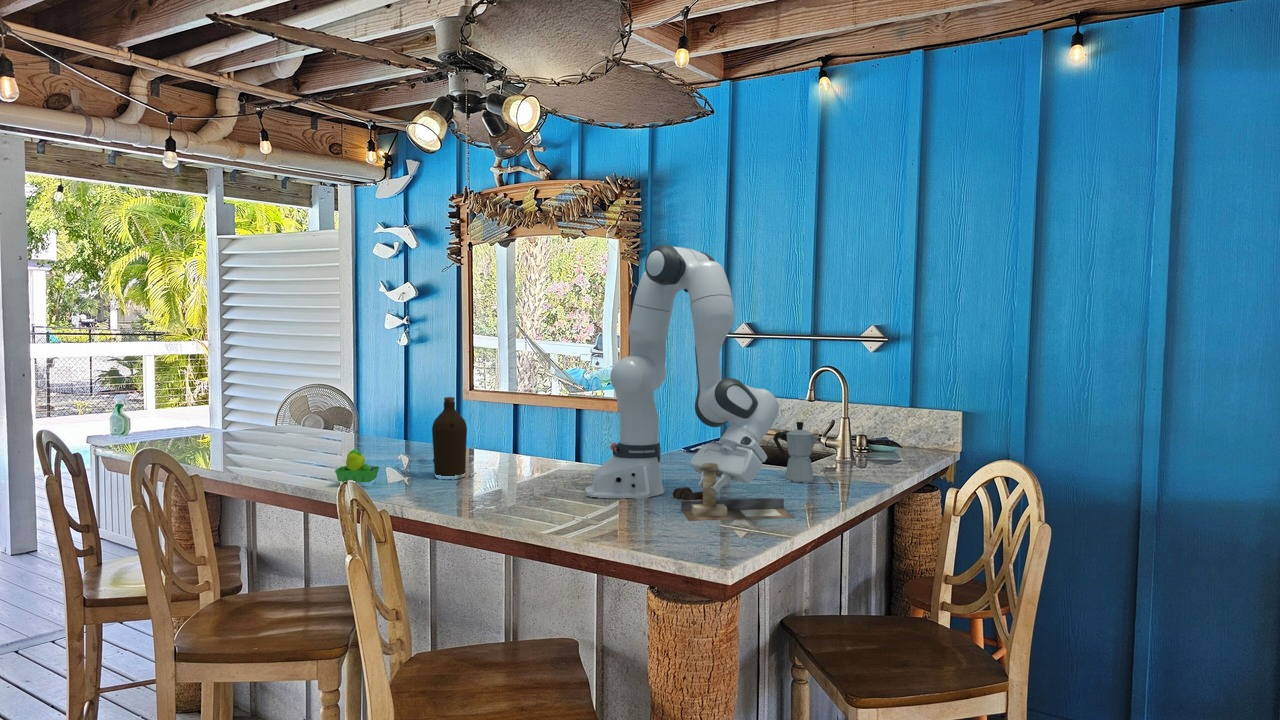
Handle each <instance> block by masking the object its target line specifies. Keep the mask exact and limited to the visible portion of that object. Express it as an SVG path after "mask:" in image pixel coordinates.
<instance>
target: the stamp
mask: <svg viewBox="0 0 1280 720" xmlns="http://www.w3.org/2000/svg"><path fill="white" fill-rule="evenodd" d="M701 470H703V488H702V492H703V504H698V505H692V514H693V515H694V516H727V507H726V506H725V505H724V504H716V499H717V492H715V491H713V490H712V489H711V485H712V484H713V482H717V476H716V470H718V464H714V463H704V464H701Z"/></svg>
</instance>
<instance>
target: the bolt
mask: <svg viewBox="0 0 1280 720" xmlns="http://www.w3.org/2000/svg"><path fill="white" fill-rule="evenodd" d="M672 497H673V498H675V499H677V500H703V491H694V492H693V490H692V489H691V487H688V486H687V487H686V486H685V487H684V486H683V487H678V488H677V487H676V488H675V489H673V492H672Z"/></svg>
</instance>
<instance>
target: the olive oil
mask: <svg viewBox="0 0 1280 720" xmlns="http://www.w3.org/2000/svg"><path fill="white" fill-rule="evenodd" d="M431 433H432V434H431V436H432V447H433V448H432V450H433V453H432V454H433V459H432V461H433V470H434V473H435V474H436V475H441V476H455V475H461V474H464V473H465V474H466V473H467V472H466V469H467V467H466V465H467V462H466V461H467V459H466V458H467V433H468V427H467V423H466V420H465V419H464V417H462V415H460V413H459V412H458V411H457V410H456V401H455V397H454V396H445V397H444V399H443V410H442V411H441V412H440V414H439V415H437V417H436V418H435V419H434V421H433V423H432V426H431ZM435 474H434V475H435Z"/></svg>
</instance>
